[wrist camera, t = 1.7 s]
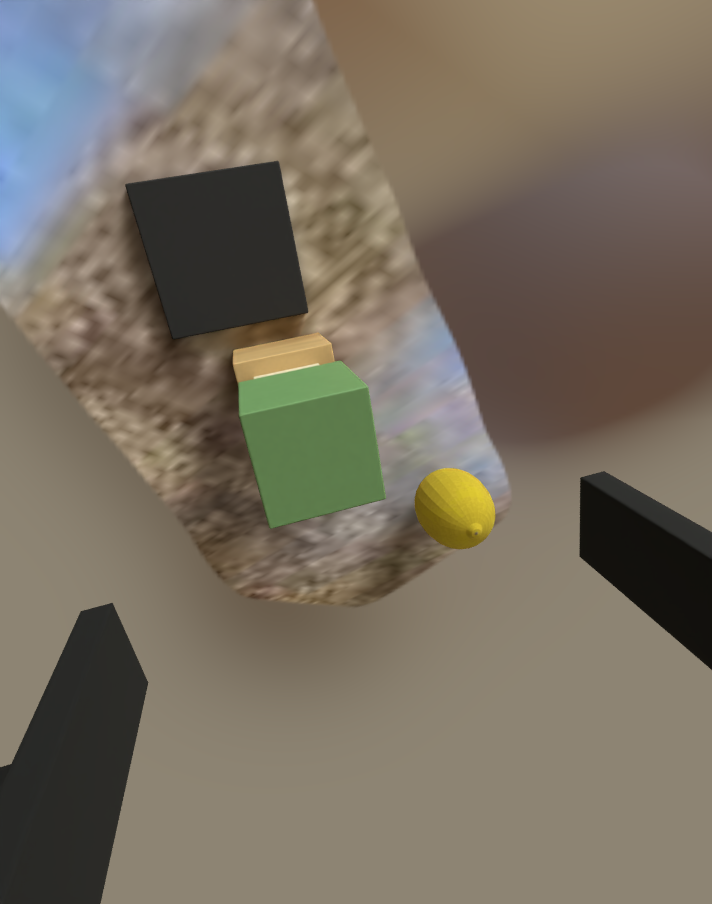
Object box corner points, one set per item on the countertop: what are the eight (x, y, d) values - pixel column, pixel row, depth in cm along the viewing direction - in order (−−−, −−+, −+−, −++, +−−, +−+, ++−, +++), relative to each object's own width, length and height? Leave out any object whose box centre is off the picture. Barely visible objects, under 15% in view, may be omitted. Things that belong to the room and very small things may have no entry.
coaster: (126, 185, 29) (124, 183, 28) (278, 162, 30) (278, 160, 30) (173, 338, 32) (172, 339, 32) (307, 311, 34) (308, 312, 33)
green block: (237, 382, 25) (238, 414, 20) (340, 360, 26) (368, 385, 21) (262, 476, 28) (269, 529, 22) (357, 453, 28) (386, 499, 23)
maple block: (232, 350, 34) (232, 364, 29) (318, 332, 34) (331, 343, 30) (254, 431, 36) (256, 456, 31) (334, 413, 37) (348, 434, 32)
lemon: (451, 442, 40) (500, 482, 32) (473, 495, 42) (523, 544, 35) (391, 474, 40) (426, 522, 32) (416, 526, 42) (454, 581, 35)
